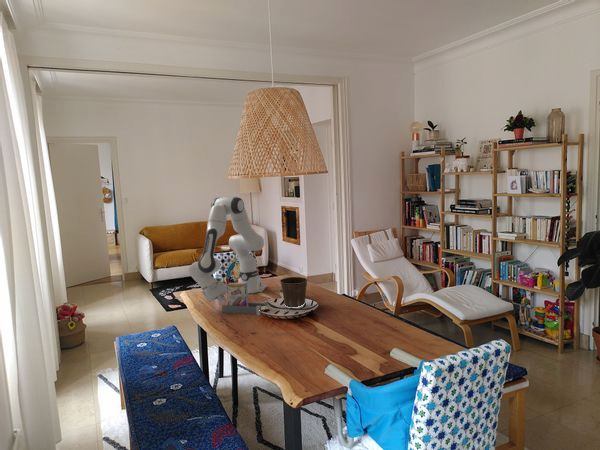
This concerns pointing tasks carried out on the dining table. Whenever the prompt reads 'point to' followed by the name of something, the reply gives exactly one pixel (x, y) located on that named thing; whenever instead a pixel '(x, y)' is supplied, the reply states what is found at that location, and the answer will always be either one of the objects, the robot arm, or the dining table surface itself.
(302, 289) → the plant pot
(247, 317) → the dining table surface
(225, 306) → the chute
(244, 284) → the candy bar box
